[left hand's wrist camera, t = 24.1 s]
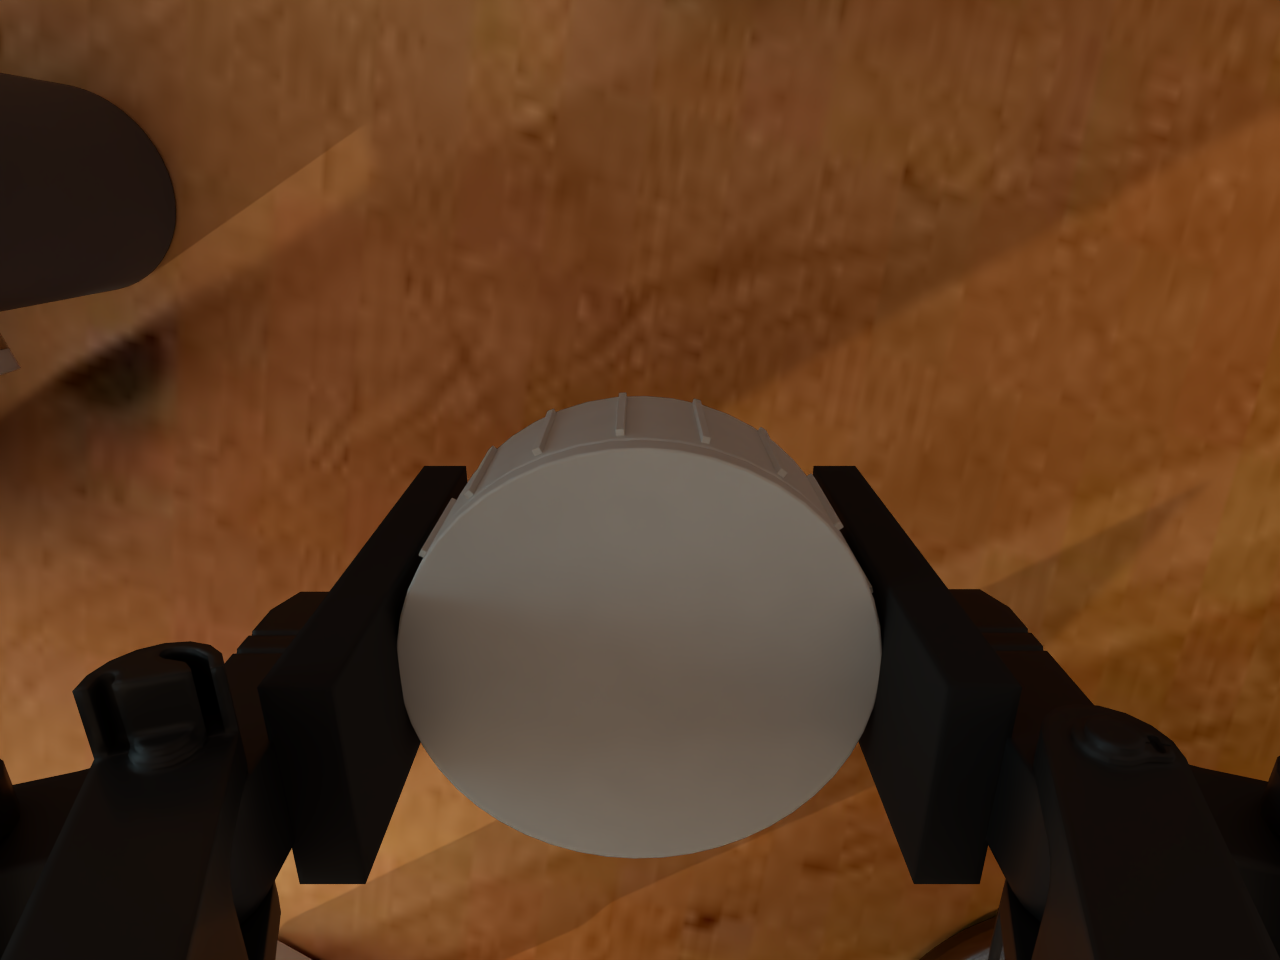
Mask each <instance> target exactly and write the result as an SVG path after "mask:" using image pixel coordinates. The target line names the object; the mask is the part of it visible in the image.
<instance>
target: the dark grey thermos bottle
mask: <svg viewBox="0 0 1280 960" xmlns="http://www.w3.org/2000/svg"><path fill="white" fill-rule="evenodd" d="M175 216H176V210H175V198H174V193H173V187H172V184H171V181H170V177H169V174H168V172H167V169H166V167H165V165H164V162H163V160H162V158H161V157H160V155H159V153H158V151H157V150H156V148H155V146H154V145H153V144H152V142H151V141H150V139H149V138H148V137H147V135H146V134H145V133H144V132H143V131H142V130H141V128H140V127H139V126H138V125H137V124H136V123H135V122H134V121H133V120H132V119H131V118H130V117H129V116H127V115H126V114H125V113H124V112H123V111H122V110H120V109H119V108H117V107H116V106H115V105H113V104H112V103H110V102H109V101H107V100H105V99H103V98H102V97H100V96H98V95H96V94H93V93H91V92H89V91H86V90H84V89H80V88H77V87H73V86H69V85H64V84H58V83H53V82H47V81H42V80H36V79H31V78H25V77H20V76H14V75H9V74H3V73H0V311H6V310H11V309H16V308H21V307H27V306H32V305H37V304H42V303H48V302H53V301H58V300H64V299H69V298H74V297H79V296H85V295H90V294H95V293H100V292H106V291H111V290H116V289H120V288H124V287H127V286H130V285H132V284H134V283H136V282H139V281H140V280H142V279H143V278H145V277H146V276H148V275H149V274H150V273H151V272H152V271H153V270H154V269H155V268H156V267H157V266H158V264H159V263H160V262H161V261H162V259H163V258H164V256H165V254H166V252H167V250H168V248H169V246H170V243H171V240H172V237H173V232H174V228H175Z"/></svg>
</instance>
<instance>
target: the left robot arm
mask: <svg viewBox="0 0 1280 960" xmlns="http://www.w3.org/2000/svg"><path fill="white" fill-rule="evenodd" d="M813 476H814V478H815V479H816V481H817V482H818V484H819V486H820V488H821V489H822V491H823V493H824V494H825V496H826V498H827V499H828V501H829V503H830V504H831V506H832V508H833V510H834V511H835V513H836V515H837V516H838V518H839V520H840V521H841V523H842V525H843V528H842V529H840V530H839V531H840V532H841V533H842V535H843V537H844V539H845V540H846V542H847V544H848V545H849V547H850V549H851V551H852V552H853V554H854V556H855V558H856V559H857V561H858V563H859V565H860V566H861V568H862V570H863V572H864V573H865V575H866V577H867V579H868V580H869V582H870V584H871V586H872V589H873V593H872V595H873V598H874V601H875V605H876V610H877V614H878V618H879V623H880V628H881V642H882V656H881V664H880V672H879V680H878V687H877V694H876V699H875V703H874V707H873V710H872V712H871V715H870V717H869V720H868V722H867V725H866V727H865V730H864V732H863V734H862V735H861V737H860V739H859V744H860V747H861V749H862V752H863V754H864V757H865V759H866V762H867V765H868V767H869V770H870V772H871V775H872V777H873V780H874V783H875V785H876V788H877V790H878V793H879V795H880V798H881V800H882V803H883V806H884V808H885V811H886V813H887V816H888V818H889V821H890V824H891V826H892V829H893V831H894V834H895V836H896V839H897V841H898V844H899V847H900V849H901V852H902V854H903V857H904V859H905V862H906V865H907V867H908V870H909V872H910V875H911V877H912V880H913V883H914V884H980V880H981V875H982V871H983V866H984V861H985V857H986V852H987V848H988V845H989V847H990V849H991V851H992V853H993V855H994V857H995V859H996V861H997V862H998V864H999V866H1000V868H1001V870H1002V872H1003V874H1004V876H1005V878H1006V879H1005V884H1004V888H1003V892H1002V897H1001V901H1000V905H999V909H998V914H997V917H994V918H991V919H988V920H986V921H983V922H981V923H978V924H976V925H974V926H972V927H970V928H968V929H965V930H963V931H961V932H959V933H958V934H956V935H954V936H952V937H951V938H949V939H947V940H945V941H944V942H942V943H941V944H939V945H938V946H937V947H935V948H934V949H932V950H931V951H930V952H928V953H927V954H926V955H925V956H923V957H922V958H921V959H920V960H1280V756H1279V757H1277V760H1276V763H1275V765H1274V768H1273V770H1272V773H1271V776H1270V778H1269V781H1268V782H1267V781H1262V780H1257V779H1252V778H1248V777H1243V776H1238V775H1233V774H1228V773H1224V772H1219V771H1214V770H1209V769H1204V768H1200V767H1196V766H1193V765H1189V764H1188V762H1187V760H1186V758H1185V757H1184V755H1183V754H1182V753H1181V751H1180V750H1179V749H1178V747H1177V746H1176V745H1175V744H1174V742H1173V741H1172V740H1170V739H1169V738H1168V737H1166V736H1165V735H1164V734H1162V733H1161V732H1160V731H1158V730H1157V729H1156V728H1154V727H1153V726H1151V725H1149V724H1147V723H1145V722H1143V721H1141V720H1139V719H1137V718H1135V717H1133V716H1130V715H1128V714H1126V713H1123V712H1119V711H1116V710H1112V709H1109V708H1105V707H1101V706H1096V705H1093V703H1092V702H1091V701H1090V700H1089V699H1088V698H1087V697H1086V695H1085V694H1084V693H1083V692H1082V691H1081V690H1080V688H1079V687H1078V686H1077V685H1076V684H1075V683H1074V682H1073V680H1072V679H1071V678H1070V677H1069V676H1068V675H1067V673H1066V672H1065V671H1064V670H1063V669H1062V668H1061V667H1060V665H1059V664H1058V663H1057V662H1056V661H1055V660H1054V658H1053V657H1052V656H1051V655H1050V654H1049V653H1048V652H1047V651H1043V646H1042V645H1041V643H1040V642H1039V641H1038V640H1037V639H1036V638H1035V637H1034V635H1033V634H1032V633H1028V628H1027V627H1026V626H1025V625H1024V624H1023V623H1022V622H1021V620H1020V619H1019V618H1018V617H1017V616H1016V615H1015V613H1014V612H1013V611H1012V610H1011V609H1010V608H1009V607H1008V606H1006V605H1004V604H1003V603H1001V602H1000V601H998V600H996V599H995V598H993V597H991V596H990V595H988V594H986V593H985V592H983V591H981V590H980V589H948V588H947V587H946V586H945V584H944V583H943V582H942V580H941V579H940V578H939V576H938V575H937V574H936V572H935V571H934V570H933V568H932V567H931V566H930V564H929V563H928V562H927V560H926V559H925V558H924V557H923V555H922V554H921V553H920V551H919V550H918V549H917V547H916V546H915V545H914V543H913V542H912V541H911V539H910V538H909V537H908V535H907V534H906V533H905V531H904V530H903V529H902V527H901V526H900V525H899V523H898V522H897V521H896V519H895V518H894V517H893V515H892V514H891V513H890V512H889V510H888V509H887V508H886V506H885V505H884V504H883V502H882V501H881V500H880V498H879V497H878V496H877V494H876V493H875V492H874V490H873V489H872V488H871V486H870V485H869V484H868V482H867V481H866V480H865V478H864V477H863V476H862V474H861V473H860V472H859V470H858V469H857V468H856V467H855V466H814V468H813ZM466 484H467V473H466V466H424V467H423V469H422V470H421V471H420V473H419V474H418V475H417V476H416V478H415V479H414V480H413V482H412V483H411V484H410V486H409V487H408V488H407V490H406V491H405V492H404V494H403V495H402V496H401V498H400V499H399V500H398V502H397V503H396V504H395V506H394V507H393V508H392V510H391V511H390V512H389V514H388V515H387V516H386V518H385V519H384V520H383V521H382V523H381V524H380V525H379V527H378V528H377V529H376V531H375V532H374V533H373V535H372V536H371V537H370V539H369V540H368V541H367V543H366V544H365V545H364V547H363V548H362V549H361V551H360V552H359V553H358V555H357V556H356V557H355V559H354V560H353V561H352V562H351V564H350V565H349V566H348V568H347V569H346V570H345V572H344V573H343V574H342V576H341V577H340V578H339V580H338V581H337V582H336V584H335V585H334V586H333V588H332V589H331V590H330V592H299V593H298V594H296V595H294V596H293V597H291V598H290V599H288V600H286V601H285V602H283V603H281V604H280V605H278V606H277V607H275V608H273V609H272V610H270V611H269V613H268V614H267V615H266V616H265V617H264V618H263V620H262V621H261V622H260V623H259V624H258V625H257V627H256V628H255V629H254V630H253V631H252V636H248V637H247V638H246V639H245V640H244V642H243V643H242V644H241V645H240V646H239V647H238V649H237V654H232V656H231V657H230V658H229V659H228V660H227V661H226V663H225V664H224V661H223V657H222V653H220V652H219V651H218V650H216V649H215V648H214V647H212V646H211V645H208V644H202V643H196V642H191V641H190V642H175V643H163V644H159V645H155V646H151V647H147V648H143V649H139V650H135V651H133V652H131V653H128V654H126V655H123V656H121V657H118V658H116V659H114V660H111V661H109V662H107V663H106V664H104V665H103V666H101V667H100V668H98V669H96V670H95V671H93V672H92V673H90V674H89V675H87V676H86V677H85V678H84V679H83V680H82V681H81V683H80V684H79V685H78V686H77V687H76V688H75V689H74V690H73V691H72V692H73V695H74V698H75V701H76V704H77V707H78V710H79V713H80V716H81V719H82V723H83V726H84V729H85V732H86V735H87V738H88V741H89V744H90V747H91V750H92V754H93V757H94V761H93V763H92V765H91V768H89V769H85V770H82V771H78V772H73V773H68V774H63V775H58V776H54V777H49V778H44V779H39V780H35V781H30V782H25V783H20V784H16V785H12V783H11V780H10V778H9V775H8V772H7V770H6V767H5V764H4V762H3V760H1V759H0V960H275V959H276V950H277V941H278V933H279V924H280V915H281V910H280V904H279V897H278V892H277V888H276V884H275V879H276V877H277V875H278V873H279V871H280V869H281V867H282V865H283V864H284V862H285V860H286V858H287V856H288V854H289V852H290V850H291V848H292V850H293V855H294V859H295V864H296V868H297V873H298V878H299V882H300V884H366V881H367V879H368V876H369V874H370V871H371V869H372V866H373V863H374V861H375V858H376V856H377V853H378V851H379V848H380V845H381V843H382V840H383V838H384V835H385V833H386V830H387V827H388V825H389V822H390V820H391V817H392V815H393V812H394V810H395V807H396V804H397V802H398V799H399V797H400V794H401V792H402V789H403V786H404V784H405V781H406V779H407V776H408V774H409V771H410V769H411V766H412V763H413V761H414V758H415V756H416V753H417V751H418V748H419V745H420V743H421V741H420V739H419V738H418V736H417V734H416V732H415V730H414V728H413V726H412V724H411V721H410V718H409V716H408V713H407V710H406V707H405V704H404V698H403V691H402V684H401V677H400V670H399V662H398V653H397V637H398V629H399V621H400V615H401V612H402V608H403V605H404V601H405V598H406V594H407V591H408V588H409V586H410V584H411V582H412V580H413V578H414V576H415V573H416V571H417V569H418V567H419V565H420V563H421V561H422V559H423V557H421V556H419V553H420V551H421V549H422V547H423V546H424V544H425V542H426V540H427V539H428V537H429V535H430V534H431V532H432V530H433V529H434V527H435V525H436V524H437V522H438V520H439V519H440V517H441V515H442V514H443V512H444V510H445V508H446V507H447V505H448V503H449V502H450V500H451V498H454V499H456V500H457V499H458V497H459V495H460V493H461V492H462V490H463V489H464V487H465V486H466Z"/></svg>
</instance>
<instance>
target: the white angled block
mask: <svg viewBox="0 0 1280 960" xmlns="http://www.w3.org/2000/svg"><path fill="white" fill-rule="evenodd" d="M275 960H312V959H310V958H308V957H307V956H305V955H303V954H301V953H299V952H298V951H296V950H294V949H292V948H290V947H289V946H287V945H285V944H283V943H282V942H280V941H277V950H276V959H275Z"/></svg>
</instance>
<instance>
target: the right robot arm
mask: <svg viewBox="0 0 1280 960" xmlns="http://www.w3.org/2000/svg"><path fill="white" fill-rule="evenodd" d="M7 348H8V349H7ZM20 368H21V367H20V366H19V364H18V362H17V361H16V359H15V357H14V355H13V354H12V352H11V350H10V349H9V347H8V345H7V344H6V342H5V340H4V339H3V337H2V335H1V334H0V375H2V374H5V373H9V372H12V371H15V370H17V369H20Z"/></svg>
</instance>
